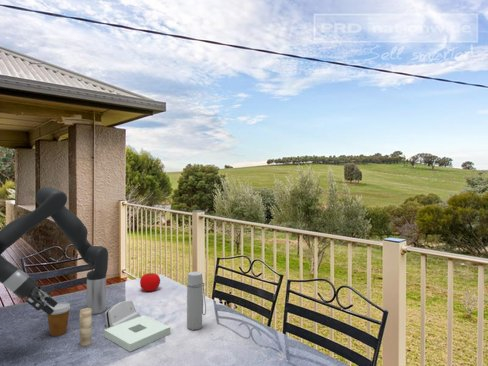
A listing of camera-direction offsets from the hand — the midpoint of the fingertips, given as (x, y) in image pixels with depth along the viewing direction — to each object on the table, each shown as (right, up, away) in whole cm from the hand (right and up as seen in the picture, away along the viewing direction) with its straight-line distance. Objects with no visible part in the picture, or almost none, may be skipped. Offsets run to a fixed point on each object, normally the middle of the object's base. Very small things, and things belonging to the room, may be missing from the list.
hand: (54, 309), depth 132 cm
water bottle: (+54, -16, +21) cm, 60 cm away
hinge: (+17, -16, +26) cm, 35 cm away
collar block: (+30, -16, +12) cm, 36 cm away
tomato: (+18, -16, +71) cm, 75 cm away
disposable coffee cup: (-6, -16, +14) cm, 22 cm away
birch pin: (+11, -16, +4) cm, 20 cm away
